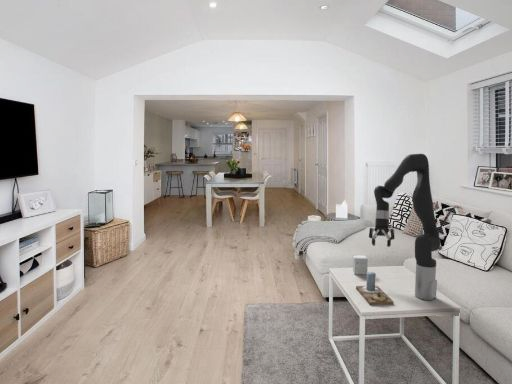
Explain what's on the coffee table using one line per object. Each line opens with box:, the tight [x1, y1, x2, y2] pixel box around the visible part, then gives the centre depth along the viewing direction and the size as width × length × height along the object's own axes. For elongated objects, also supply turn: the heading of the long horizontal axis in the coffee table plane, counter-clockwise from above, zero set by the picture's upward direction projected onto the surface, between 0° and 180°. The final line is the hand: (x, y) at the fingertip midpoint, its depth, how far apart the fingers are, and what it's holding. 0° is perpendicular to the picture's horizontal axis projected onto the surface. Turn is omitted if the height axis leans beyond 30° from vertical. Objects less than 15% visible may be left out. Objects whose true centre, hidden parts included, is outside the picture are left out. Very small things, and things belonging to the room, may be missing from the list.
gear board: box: [355, 285, 394, 306], centre depth 173 cm, size 20×12×5 cm, turn 2°
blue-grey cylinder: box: [365, 271, 377, 291], centre depth 177 cm, size 4×4×9 cm
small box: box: [352, 255, 369, 275], centre depth 207 cm, size 8×6×10 cm
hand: (381, 246), depth 194 cm, fingers open, 8 cm apart
